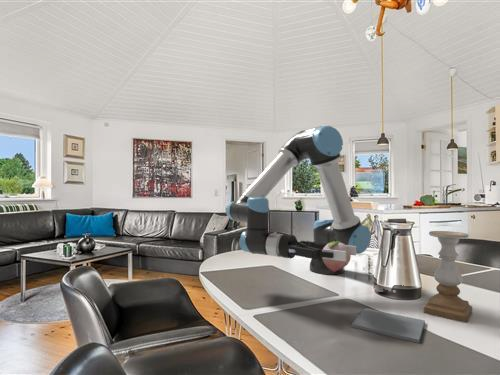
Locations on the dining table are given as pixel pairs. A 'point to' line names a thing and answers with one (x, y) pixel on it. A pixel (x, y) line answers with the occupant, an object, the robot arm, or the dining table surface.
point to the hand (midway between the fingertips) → (350, 253)
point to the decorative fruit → (336, 264)
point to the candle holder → (448, 281)
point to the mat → (390, 324)
